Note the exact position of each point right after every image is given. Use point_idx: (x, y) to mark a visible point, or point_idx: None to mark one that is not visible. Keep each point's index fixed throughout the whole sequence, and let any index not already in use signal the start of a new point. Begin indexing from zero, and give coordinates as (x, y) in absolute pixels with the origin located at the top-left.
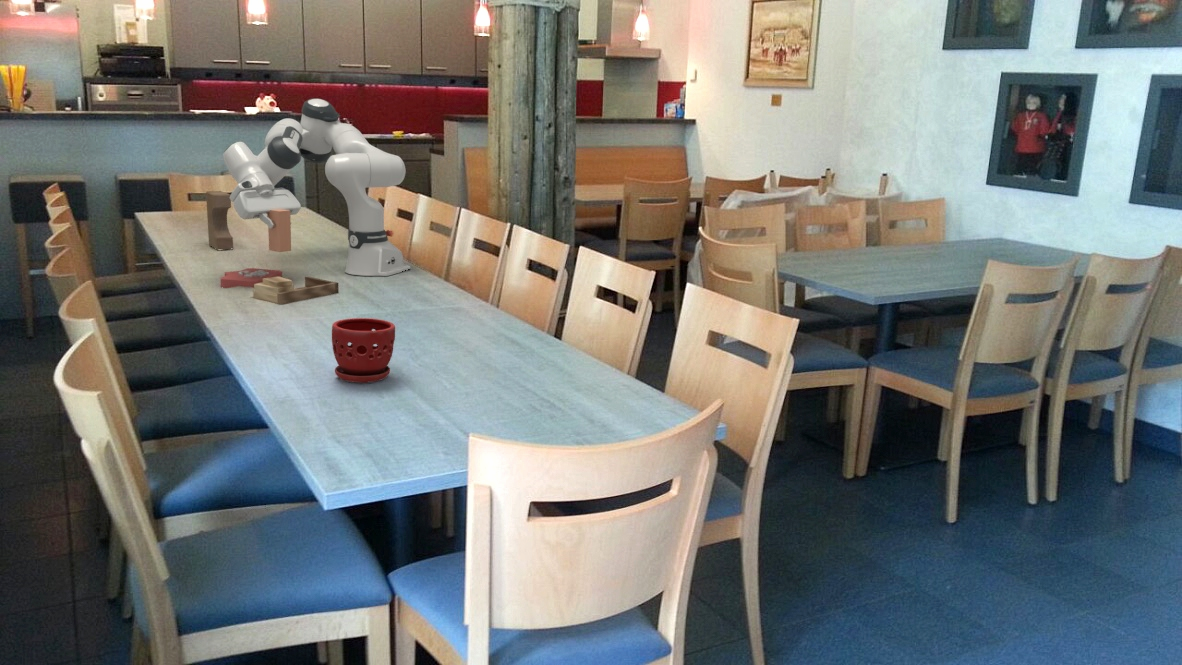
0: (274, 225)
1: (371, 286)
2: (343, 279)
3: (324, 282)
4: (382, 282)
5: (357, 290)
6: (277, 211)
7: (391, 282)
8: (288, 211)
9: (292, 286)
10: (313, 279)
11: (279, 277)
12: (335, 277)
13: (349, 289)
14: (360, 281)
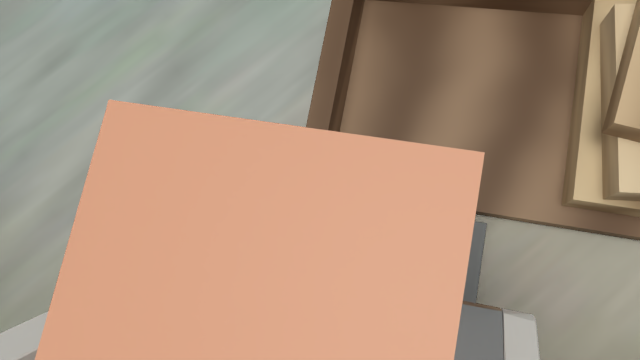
0: (479, 306)
1: (115, 15)
2: (46, 202)
3: (350, 28)
4: (28, 32)
5: (210, 7)
6: (472, 229)
7: (13, 5)
8: (173, 113)
9: (625, 7)
10: (332, 109)
11: (635, 97)
12: (24, 262)
13: (211, 45)
14: (50, 115)
